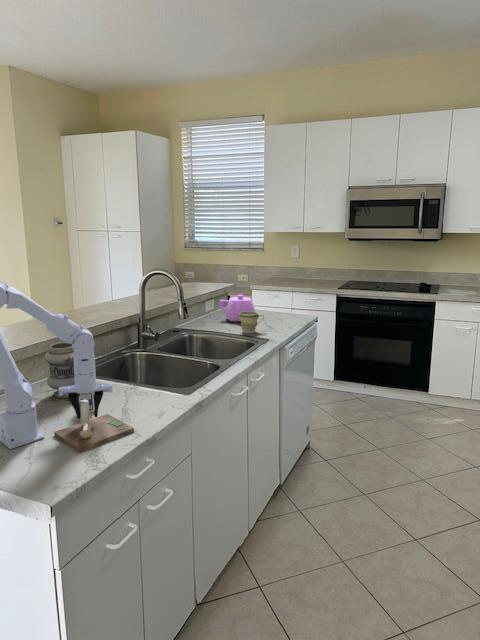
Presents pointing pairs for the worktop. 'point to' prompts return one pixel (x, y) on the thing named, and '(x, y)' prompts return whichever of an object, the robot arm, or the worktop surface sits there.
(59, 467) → the worktop surface
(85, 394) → the pill bottle
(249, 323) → the ceramic cup
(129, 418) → the worktop surface
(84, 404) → the peg lever
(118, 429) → the tuner board
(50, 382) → the apothecary jar
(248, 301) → the teapot
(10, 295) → the robot arm
